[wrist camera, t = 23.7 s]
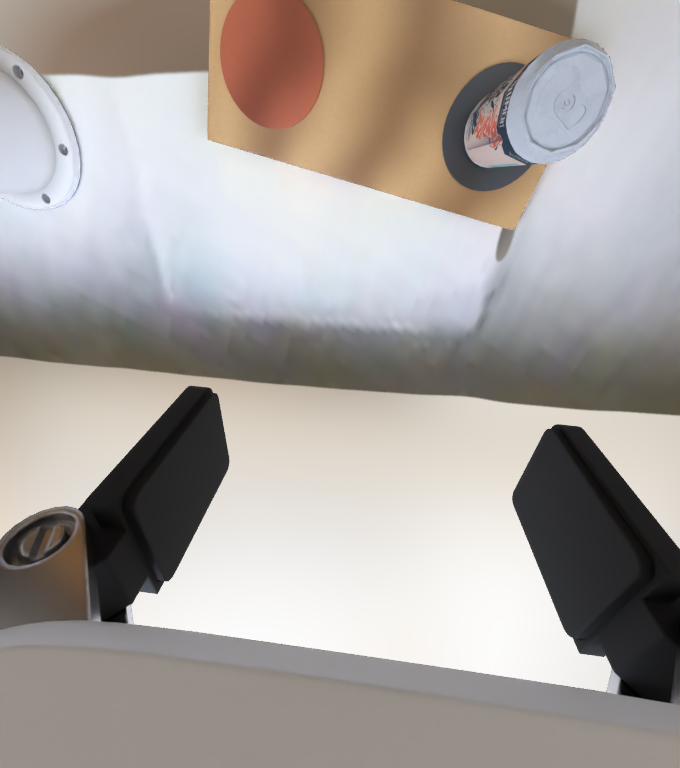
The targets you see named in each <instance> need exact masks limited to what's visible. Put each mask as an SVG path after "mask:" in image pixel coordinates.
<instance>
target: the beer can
mask: <svg viewBox="0 0 680 768" xmlns="http://www.w3.org/2000/svg"><path fill="white" fill-rule="evenodd" d="M615 87H616V86H615V81H614V76H613V66H612V64H611V60H610V56H608V54H607V53H606V52H605V51H604V50H603V49H602V48H601V47H600V46H599V45H598V44H597V43H594V42H592V41H589V40H586V39H570V40H567V41H564V42H560V43H557V44H555V45H553V46H552V47H550V48H549V49H547V50H545V51H544V52H542V53H541V54H540V55H538V56H537V57H536V58H534V59H533V60H532V61H530V62H529V63H528V64H527V65H525V66H524V67H523V68H521V69H520V70H519V71H518V72H516V73H515V74H514V75H512V76H511V77H510V78H509V79H507V80H506V81H505V82H503V83H502V84H501V85H500V86H498V87H497V88H496V89H494V90H493V91H492V92H490V93H489V94H488V95H487V96H485V97H484V98H483V99H482V100H481V101H480V102H479V103H478V104H477V105H476V107H475V108H474V110H473V111H472V113H471V114H470V116H469V118H468V121H467V124H466V128H465V134H464V143H465V148H466V151H467V154H468V156H469V157H470V159H471V160H472V161H473V162H474V163H475V164H477V165H479V166H481V167H486V168H494V167H507V166H520V165H533V164H547V163H551V162H556V161H559V160H562V159H564V158H566V157H567V156H569V155H571V154H573V153H574V152H576V151H577V150H578V149H579V148H581V147H582V146H583V145H584V144H585V143H586V142H587V141H588V140H589V139H590V138H591V136H592V135H593V134H594V133H595V132H596V131H597V129H598V128H599V126H600V124H601V123H602V121H603V119H604V117H605V115H606V112H607V109H608V107H609V104H610V102H611V99H612V95H613V92H614V90H615Z"/></svg>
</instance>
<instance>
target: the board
mask: <svg viewBox="0 0 680 768" xmlns="http://www.w3.org/2000/svg"><path fill="white" fill-rule="evenodd" d="M209 30H210V31H209V32H210V33H209V81H208V135H207V139H208V140H211V141H214V142H217V143H221V144H224V145H227V146H231V147H234V148H237V149H241V150H244V151H248V152H251V153H254V154H258V155H261V156H264V157H268V158H271V159H274V160H278V161H281V162H285V163H288V164H291V165H295V166H298V167H301V168H305V169H308V170H311V171H315V172H318V173H322V174H325V175H328V176H332V177H335V178H338V179H342V180H345V181H348V182H352V183H355V184H358V185H362V186H365V187H369V188H372V189H375V190H379V191H382V192H385V193H389V194H392V195H395V196H399V197H402V198H406V199H409V200H412V201H416V202H419V203H422V204H426V205H429V206H432V207H436V208H439V209H443V210H446V211H449V212H453V213H456V214H459V215H463V216H466V217H469V218H473V219H476V220H480V221H483V222H486V223H490V224H493V225H496V226H500V227H503V228H506V229H510V230H514V229H515V227H516V225H517V223H518V221H519V219H520V217H521V215H522V213H523V211H524V209H525V207H526V205H527V203H528V201H529V199H530V197H531V195H532V193H533V191H534V189H535V187H536V185H537V183H538V181H539V179H540V177H541V175H542V173H543V171H544V169H545V167H546V165H547V164H533V165H520V166H507V167H494V168H486V167H481V166H479V165H477V164H475V163H474V162H473V161H472V160H471V159H470V157H469V156H468V154H467V151H466V148H465V143H464V134H465V128H466V124H467V121H468V118H469V116H470V114H471V113H472V111H473V110H474V108H475V107H476V105H477V104H478V103H479V102H480V101H481V100H482V99H483V98H484V97H485V96H487V95H488V94H489V93H490V92H492V91H493V90H494V89H496V88H497V87H498V86H500V85H501V84H502V83H503V82H505V81H506V80H507V79H509V78H510V77H511V76H512V75H514V74H515V73H516V72H518V71H519V70H520V69H521V68H523V67H524V66H525V65H527V64H528V63H529V62H530V61H532V60H533V59H534V58H536V57H537V56H538V55H540V54H541V53H542V52H544V51H545V50H547V49H549V48H550V47H552V46H553V45H555V44H557V43H560V42H564V41H567V40H570V39H573V38H569V37H566V36H563V35H560V34H557V33H554V32H551V31H548V30H545V29H542V28H539V27H536V26H532V25H529V24H526V23H523V22H520V21H517V20H514V19H511V18H508V17H505V16H501V15H499V14H496V13H493V12H489V11H486V10H483V9H480V8H477V7H474V6H471V5H468V4H465V3H462V2H459V1H456V0H210V29H209ZM602 49H603V48H602ZM603 50H604V49H603Z"/></svg>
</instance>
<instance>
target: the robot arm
mask: <svg viewBox="0 0 680 768" xmlns="http://www.w3.org/2000/svg"><path fill="white" fill-rule="evenodd" d="M80 165H81V163H80V155H79V148H78V144H77V140H76V137H75V133H74V131H73V128H72V126H71V123H70V121H69V118H68V116H67V114H66V112H65V111H64V109H63V107H62V105H61V103H60V102H59V100H58V98H57V97H56V95H55V94H54V93H53V91H52V90H51V88H50V87H49V86H48V84H47V83H46V82H45V81H44V80H43V78H42V77H41V76H40V75H39V74H38V73H37V72H36V71H35V70H34V69H33V68H32V67H31V66H30V65H29V64H28V63H26V62H25V61H24V60H23V59H22V58H21V57H19V56H18V55H16V54H15V53H13V52H12V51H10V50H9V49H7V48H6V47H4V46H1V45H0V197H1V198H3V199H5V200H6V201H8V202H10V203H12V204H15V205H17V206H20V207H23V208H27V209H33V210H44V209H52V208H57V207H59V206H61V205H63V204H65V203H66V202H67V201H68V200H69V199H70V198H71V197H72V196H73V194H74V192H75V191H76V189H77V186H78V182H79V178H80ZM228 467H229V455H228V449H227V443H226V438H225V432H224V427H223V421H222V416H221V410H220V404H219V398H218V395H217V394H215V393H213V392H212V390H211V389H210V388H206V387H196V386H189V387H188V388H186V389H185V390H184V392H183V393H182V394H181V395H180V396H179V397H178V398H177V399H176V400H175V402H174V403H173V404H172V405H171V406H170V407H169V408H168V409H167V411H166V412H165V413H164V414H163V415H162V416H161V417H160V418H159V419H158V421H156V423H155V424H154V425H153V426H152V427H151V428H150V429H149V430H148V431H147V433H146V434H145V435H144V436H143V437H142V438H141V439H140V440H139V442H138V443H137V444H136V445H135V446H134V447H133V448H132V449H131V450H130V451H129V453H128V454H127V455H126V456H125V457H124V458H123V459H122V460H121V461H120V463H119V464H118V465H117V466H116V467H115V468H114V469H113V470H112V472H110V474H109V475H108V476H107V477H106V478H105V479H104V480H103V481H102V482H101V484H100V485H99V486H98V487H97V488H96V489H95V490H94V491H93V492H92V494H91V495H90V496H89V497H88V498H87V499H86V501H85V502H84V503H83V504H82V506H81V507H80V508H79V509H76V508H72V507H68V506H64V507H54V508H50V509H47V510H43V511H40V512H38V513H36V514H34V515H32V516H29V517H28V518H26V519H24V520H23V521H21V522H20V523H18V524H16V525H15V526H14V527H13V528H12V529H11V530H9V531H8V532H7V533H6V534H5V535H4V536H3V537H2V539H1V540H0V768H680V549H679V548H678V547H677V545H676V544H675V543H674V542H673V541H672V539H671V538H670V537H669V536H668V534H667V533H666V532H665V530H664V529H663V528H662V527H661V525H660V524H659V523H658V522H657V520H656V519H655V518H654V517H653V516H652V514H651V513H650V512H649V510H648V509H647V508H646V507H645V505H644V504H643V503H642V502H641V501H640V499H639V498H638V497H637V495H636V494H635V493H634V492H633V490H632V489H631V488H630V487H629V485H628V484H627V483H626V482H625V481H624V479H623V478H622V477H621V476H620V474H619V473H618V472H617V471H616V469H615V468H614V467H613V466H612V464H611V463H610V462H609V461H608V459H607V458H606V457H605V456H604V454H603V453H602V452H601V451H600V449H599V448H598V447H597V446H596V444H595V443H594V442H593V441H592V439H591V438H590V437H589V436H588V435H587V433H586V432H585V431H584V430H583V429H582V428H581V427H577V426H568V425H559V424H558V425H554V426H553V427H552V428H551V429H547V430H546V431H545V432H544V434H543V436H542V438H541V440H540V442H539V444H538V446H537V448H536V449H535V451H534V453H533V455H532V457H531V459H530V461H529V463H528V465H527V467H526V469H525V471H524V473H523V475H522V476H521V478H520V480H519V482H518V484H517V486H516V488H515V490H514V492H513V496H512V497H513V498H512V500H513V505H514V507H515V510H516V512H517V515H518V517H519V520H520V522H521V525H522V527H523V530H524V532H525V535H526V537H527V540H528V542H529V544H530V547H531V549H532V552H533V554H534V557H535V559H536V562H537V564H538V567H539V569H540V571H541V574H542V576H543V579H544V581H545V584H546V586H547V588H548V591H549V594H550V596H551V599H552V601H553V603H554V606H555V608H556V611H557V613H558V616H559V618H560V621H561V623H562V625H563V627H564V630H565V631H566V633H567V634H568V635H569V636H570V637H573V639H574V642H575V644H576V646H577V649H578V651H579V653H580V654H587V655H595V656H602V657H604V656H605V655H606V656H607V658H608V660H609V663H610V665H611V667H612V671H611V675H610V679H609V683H608V687H607V691H606V692H600V691H595V690H588V689H582V688H575V687H568V686H562V685H555V684H549V683H541V682H536V681H529V680H522V679H516V678H509V677H502V676H496V675H489V674H483V673H476V672H470V671H463V670H456V669H449V668H442V667H436V666H429V665H422V664H415V663H408V662H401V661H395V660H388V659H381V658H374V657H367V656H360V655H354V654H347V653H340V652H333V651H326V650H319V649H312V648H305V647H298V646H290V645H283V644H277V643H270V642H262V641H256V640H249V639H242V638H235V637H227V636H220V635H213V634H206V633H199V632H192V631H183V630H175V629H167V628H159V627H150V626H142V625H134V623H133V616H132V609H131V604H132V603H133V601H134V600H135V598H136V596H137V594H138V593H139V591H140V592H147V593H155V594H158V592H159V590H160V588H161V586H162V585H163V583H164V581H169V580H170V579H171V578H172V577H173V575H174V573H175V571H176V569H177V568H178V566H179V564H180V562H181V560H182V558H183V556H184V554H185V552H186V550H187V548H188V546H189V544H190V542H191V540H192V538H193V536H194V534H195V532H196V531H197V529H198V526H199V524H200V523H201V521H202V519H203V517H204V515H205V513H206V511H207V509H208V507H209V505H210V503H211V501H212V499H213V497H214V495H215V493H216V492H217V489H218V488H219V486H220V484H221V482H222V480H223V478H224V476H225V474H226V472H227V470H228Z"/></svg>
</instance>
